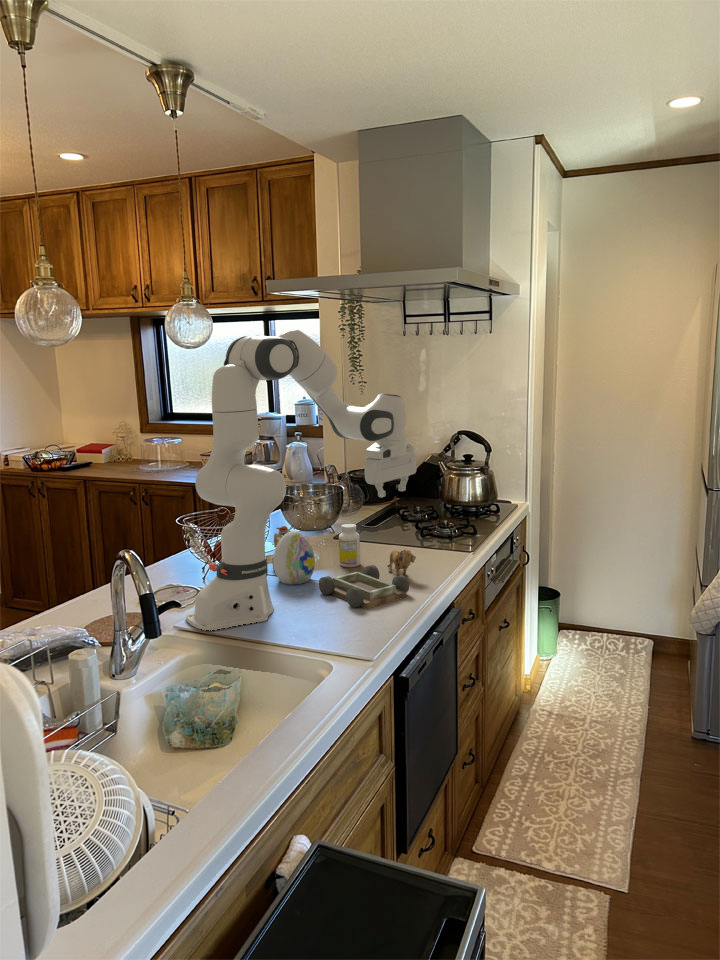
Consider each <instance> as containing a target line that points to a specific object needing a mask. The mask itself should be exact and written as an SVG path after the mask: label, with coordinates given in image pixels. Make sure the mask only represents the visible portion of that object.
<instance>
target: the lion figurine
mask: <svg viewBox="0 0 720 960" xmlns="http://www.w3.org/2000/svg"><path fill="white" fill-rule="evenodd" d="M416 558H417V556H415V555H414V554H413V553H412V552H411V550H410V549H403V550H401V551H399V550H395V549H394V550H392V551H391V552H390V554H389V564H387V567H388V568H389V570H388V573H389V574H391V573H393V565H394V569H395V571H396V573H395V574H396V576H400V575H401V574H400V570H402V575H404V576H405V577H406V578H408V576H409V575H408V574H407V569H408V568H409V567H410V566H411V564H412V563H415V560H416Z"/></svg>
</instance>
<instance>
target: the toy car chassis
mask: <svg viewBox="0 0 720 960" xmlns="http://www.w3.org/2000/svg"><path fill="white" fill-rule="evenodd" d="M409 582H410V581H409V579H408V577H405V576H404V575H403V574H400V576H397V575H396V576H394V577H393V578H392V582H391V583H389V582H386V581H384V580H381V579H380V571H379V569H378V567H377V566H376V565H374V564H371V565H367V566H365V567H364V568H363V573H362V572H359V571H354V572H350V573H346V574H342V575H339V576H335V577H332V576H329V575H326V576H321V577H320V578H319V579H318V589H319V591H320V593H321V594H322V595H323V596H329V595H332V594H333V596H335V597H337V596H338V598H339V597H340V598H339V599H341V600H344V601H346V600H347V603H348V605H349V607H351V608H353V607H354V608H358V607H360V606H361V608H362V609H365V608H366V609H365V610H368V609H371V608H374V607H373V606H375V607H378V606H381V605H380V604H382V605H385V604H388V603H387V602H389V603H391V602H390V601H392V602H394V601H393V600H395V601H398V600H397V599H399V600H401V599H400V598H402V599H404V598H403V597H406V598H407V593H408V592H409V590H410V583H409ZM384 603H385V604H384ZM377 605H378V606H377ZM370 607H371V608H370ZM367 608H368V609H367Z"/></svg>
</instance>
